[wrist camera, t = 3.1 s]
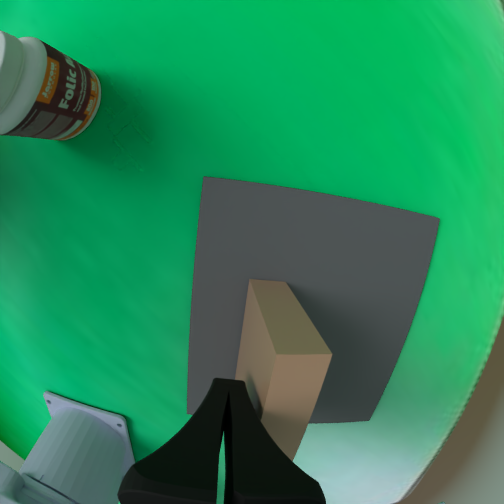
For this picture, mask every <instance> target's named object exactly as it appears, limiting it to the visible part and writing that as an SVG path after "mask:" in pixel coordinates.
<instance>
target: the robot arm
mask: <svg viewBox="0 0 504 504" xmlns="http://www.w3.org/2000/svg"><path fill="white" fill-rule="evenodd" d="M43 395H44V398H45V401H46V404H47V407H48V409H49V412H50V414H51V417H52V419H51V420H50V422H49V423H48V425H47V426H46V428H45V430H44V431H43V433H42V434H41V436H40V437H39V439H38V441H37V442H36V444H35V445H34V447H33V449H32V450H31V452H30V453H29V455H28V457H27V458H26V460H25V462H24V463H23V465H22V467H21V469H20V470H19V472H17V471H15V470H14V469H12V468H11V467H9V466H7V465H6V464H4V463H3V462H1V461H0V504H118V502H119V501H120V503H121V504H216V499H217V482H218V464H219V452H220V447H221V442H222V437H223V432H224V445H225V491H224V504H326V500H325V496H324V494H323V491H322V489H321V487H320V485H319V483H318V482H317V481H316V480H314V479H313V478H312V477H310V476H309V475H307V474H306V473H305V472H304V471H302V470H301V469H300V468H299V467H298V466H297V465H296V464H294V463H293V462H292V461H291V460H290V459H289V458H288V456H287V455H286V454H285V453H284V452H283V451H282V450H281V449H280V448H279V447H278V445H277V444H276V443H275V442H274V440H273V439H272V438H271V436H270V435H269V433H268V432H267V430H266V429H265V427H264V426H263V424H262V422H261V421H260V419H259V417H258V415H257V413H256V411H255V409H254V407H253V405H252V402H251V400H250V397H249V394H248V392H247V388H246V384H245V382H244V381H243V380H233V379H224V378H214V379H213V381H212V384H211V387H210V389H209V391H208V393H207V395H206V396H205V398H204V400H203V401H202V403H201V405H200V406H199V408H198V409H197V410H196V412H195V413H194V414H193V416H192V417H191V418H190V419H189V421H188V422H187V423H186V424H185V425H184V426H183V427H182V428H181V430H180V431H179V432H178V433H176V434H175V435H174V436H173V437H172V438H171V439H170V440H169V441H168V442H166V443H165V444H164V445H163V446H161V447H160V448H159V449H157V450H156V451H154V452H153V453H152V454H150V455H149V456H147V457H145V458H143V459H142V460H140V461H138V462H136V463H135V459H134V455H133V451H132V447H131V442H130V438H129V433H128V428H127V423H126V419H125V418H124V417H123V416H121V415H118V414H114V413H111V412H107V411H104V410H100V409H97V408H94V407H91V406H87V405H84V404H81V403H78V402H75V401H72V400H70V399H67V398H64V397H61V396H59V395H56V394H53V393H51V392H48V391H45V393H44V394H43ZM438 504H445V502H441V503H438Z"/></svg>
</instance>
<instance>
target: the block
mask: <svg viewBox="0 0 504 504" xmlns="http://www.w3.org/2000/svg"><path fill="white" fill-rule="evenodd" d="M331 357H332V353H331V351H330V349H329V348H328V346H327V345H326V343H325V342H324V340H323V339H322V337H321V335H320V334H319V332H318V331H317V329H316V328H315V326H314V325H313V323H312V322H311V320H310V318H309V317H308V315H307V314H306V312H305V311H304V309H303V308H302V306H301V305H300V303H299V302H298V300H297V298H296V297H295V295H294V294H293V292H292V291H291V289H290V288H289V286H288V285H287V283H286V282H282V281H269V280H257V279H249V285H248V292H247V299H246V306H245V313H244V320H243V327H242V334H241V341H240V348H239V354H238V361H237V368H236V375H235V380H243V381H244V382H245V384H246V388H247V392H248V394H249V397H250V400H251V402H252V405H253V407H254V409H255V411H256V413H257V415H258V417H259V419H260V421H261V422H262V424H263V426H264V427H265V429H266V430H267V432H268V433H269V435H270V436H271V438H272V439H273V440H274V442H275V443H276V444H277V445H278V447H279V448H280V449H281V450H282V451H283V452H284V453H285V454H286V455H287V456H288V458H289V459H290V460H291V461H293V459H294V457H295V454H296V452H297V450H298V447H299V445H300V443H301V440H302V438H303V435H304V433H305V430H306V428H307V425H308V423H309V420H310V417H311V415H312V412H313V409H314V407H315V404H316V401H317V399H318V396H319V393H320V390H321V387H322V384H323V381H324V378H325V376H326V373H327V369H328V366H329V363H330V360H331Z"/></svg>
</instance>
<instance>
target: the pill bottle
mask: <svg viewBox="0 0 504 504" xmlns="http://www.w3.org/2000/svg"><path fill="white" fill-rule="evenodd" d="M100 100H101V85H100V81H99V79H98V77H97V76H96V74H95V73H94V72H93V71H92V70H90V69H88V68H87V67H85V66H83V65H82V64H80V63H78V62H77V61H75V60H73V59H72V58H70V57H68V56H67V55H65V54H63V53H62V52H60V51H58V50H56V49H55V48H53V47H51V46H50V45H48V44H46V43H44V42H43V41H41V40H39V39H37V38H34V37H22V38H19V39H18V38H16V37H15V36H12V35H10V34H8V33H5V32H3V31H0V135H9V136H21V137H32V138H42V139H50V140H67V139H70V138H73V137H75V136H77V135H78V134H80V133H81V132H83V131H84V130H85V129H86V128H87V127H88V126H89V124H90V123H91V121H92V120H93V118H94V117H95V115H96V113H97V110H98V108H99V105H100Z"/></svg>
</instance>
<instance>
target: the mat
mask: <svg viewBox="0 0 504 504" xmlns="http://www.w3.org/2000/svg"><path fill="white" fill-rule="evenodd" d="M439 220H440V218H436V217H432V216H428V215H424V214H420V213H416V212H412V211H407V210H403V209H399V208H394V207H390V206H385V205H380V204H376V203H371V202H366V201H361V200H356V199H351V198H346V197H341V196H335V195H330V194H324V193H318V192H313V191H307V190H301V189H294V188H288V187H282V186H275V185H268V184H261V183H254V182H246V181H239V180H231V179H223V178H214V177H205V176H204V177H203V185H202V194H201V202H200V211H199V220H198V230H197V240H196V251H195V262H194V274H193V287H192V302H191V317H190V335H189V357H188V388H187V414H191V415H193V414H194V413H195V412H196V410H197V409H198V408H199V406H200V405H201V403H202V401H203V400H204V398H205V396H206V395H207V393H208V391H209V389H210V387H211V384H212V381H213V379H214V378H224V379H233V380H235V375H236V368H237V361H238V354H239V348H240V341H241V334H242V327H243V320H244V313H245V306H246V299H247V292H248V285H249V279H257V280H269V281H282V282H286V283H287V285H288V286H289V288H290V289H291V291H292V292H293V294H294V295H295V297H296V298H297V300H298V302H299V303H300V305H301V306H302V308H303V309H304V311H305V312H306V314H307V315H308V317H309V318H310V320H311V322H312V323H313V325H314V326H315V328H316V329H317V331H318V332H319V334H320V335H321V337H322V339H323V340H324V342H325V343H326V345H327V346H328V348H329V349H330V351H331V353H332V357H331V360H330V363H329V366H328V369H327V373H326V376H325V378H324V381H323V384H322V387H321V390H320V393H319V396H318V399H317V401H316V404H315V407H314V409H313V412H312V415H311V417H310V420H309V423H342V422H359V421H369V420H370V418H371V416H372V414H373V412H374V410H375V408H376V406H377V404H378V402H379V400H380V398H381V396H382V394H383V392H384V390H385V388H386V385H387V383H388V381H389V379H390V376H391V374H392V372H393V370H394V367H395V365H396V362H397V360H398V358H399V355H400V353H401V350H402V348H403V345H404V342H405V340H406V337H407V334H408V332H409V329H410V326H411V323H412V320H413V317H414V315H415V312H416V309H417V305H418V302H419V299H420V296H421V293H422V289H423V286H424V282H425V279H426V275H427V272H428V268H429V264H430V260H431V256H432V252H433V248H434V244H435V239H436V235H437V230H438V225H439Z"/></svg>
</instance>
